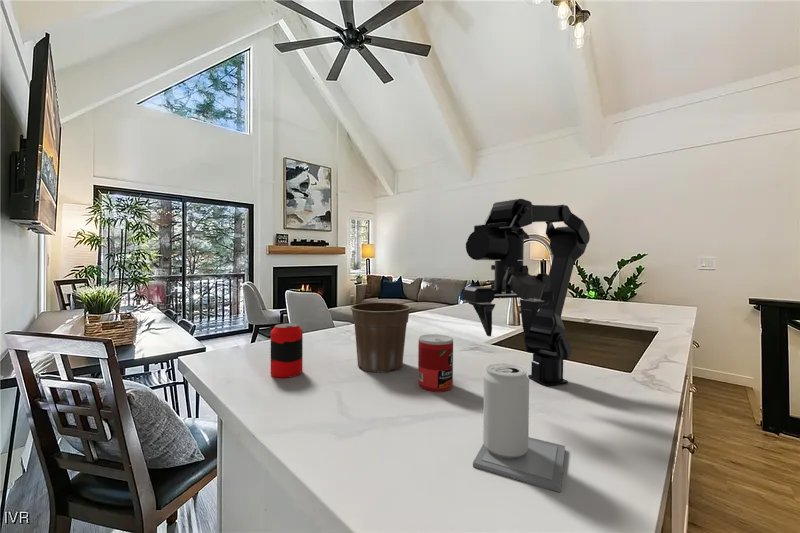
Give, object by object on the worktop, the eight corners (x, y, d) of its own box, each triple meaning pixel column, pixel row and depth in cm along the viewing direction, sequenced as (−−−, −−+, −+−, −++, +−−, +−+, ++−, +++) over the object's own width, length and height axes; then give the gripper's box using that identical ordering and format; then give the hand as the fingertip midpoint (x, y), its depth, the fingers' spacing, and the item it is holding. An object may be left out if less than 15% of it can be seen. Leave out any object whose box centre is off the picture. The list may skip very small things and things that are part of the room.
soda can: (276, 380, 81) (276, 329, 81) (266, 372, 87) (266, 324, 87) (307, 374, 86) (307, 326, 86) (295, 366, 92) (295, 321, 92)
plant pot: (411, 376, 85) (411, 310, 85) (345, 375, 85) (345, 310, 85) (409, 357, 101) (410, 302, 101) (354, 356, 101) (355, 302, 101)
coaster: (492, 431, 58) (492, 427, 58) (565, 449, 52) (565, 445, 52) (472, 466, 48) (472, 461, 48) (559, 492, 43) (560, 486, 43)
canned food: (444, 395, 73) (444, 343, 73) (411, 387, 78) (412, 338, 77) (458, 384, 80) (458, 336, 80) (427, 377, 84) (427, 332, 84)
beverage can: (536, 461, 48) (537, 375, 48) (491, 462, 48) (492, 376, 48) (517, 437, 55) (518, 361, 54) (477, 438, 54) (478, 362, 54)
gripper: (492, 260, 62) (491, 347, 62) (574, 261, 68) (573, 340, 68) (462, 260, 72) (461, 334, 73) (535, 260, 78) (534, 329, 79)
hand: (507, 334), depth 73 cm, fingers open, 9 cm apart
